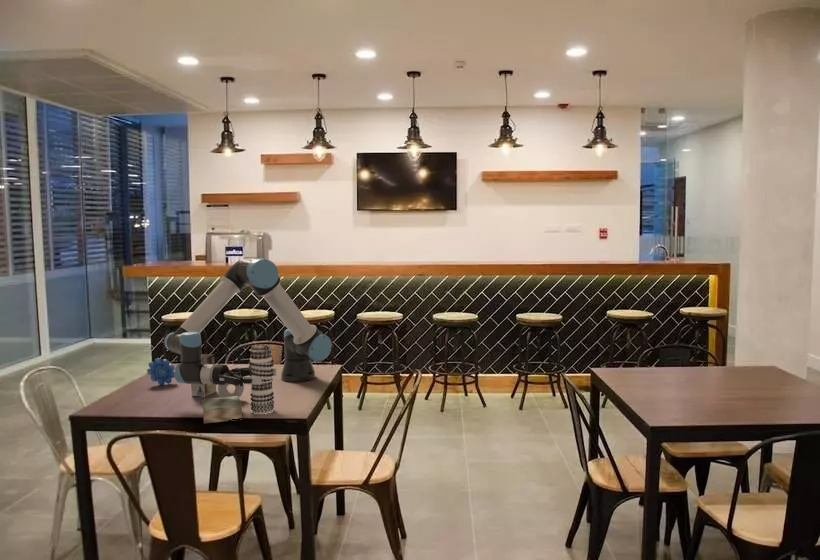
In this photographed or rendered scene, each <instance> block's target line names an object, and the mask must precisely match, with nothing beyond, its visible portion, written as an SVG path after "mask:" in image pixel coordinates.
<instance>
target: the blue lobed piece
mask: <svg viewBox="0 0 820 560" xmlns="http://www.w3.org/2000/svg"><path fill="white" fill-rule="evenodd" d="M148 367H149V368H148V369H146V374H147V375H149V376H150V380H151V381H152V382H157V384H158V385H161V386H163V385H164V384H165V383H166V384H171V383H172V382H173V380H172V379H175V376H174V372H175V368H176V366H175V365H173V364H171V363H170V361H169V360H168V359H166V358H164V359H161V358H159V357H157V358H155V359H154V361H150V362H149V363H148Z"/></svg>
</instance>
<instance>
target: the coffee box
mask: <svg viewBox="0 0 820 560" xmlns="http://www.w3.org/2000/svg"><path fill="white" fill-rule="evenodd" d="M215 355H216V354H215V353H211V354H210V353H208V354H207V353H202V364H216V356H215ZM190 387H191V388H190V389H191V397H192V396H202V397H201V398H206V397H205V396H207V397H209V396H211V395H212V394H214V393H216V392H217V385H216V384H210V386H208V384H190ZM210 394H211V395H210ZM208 395H209V396H208Z"/></svg>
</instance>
